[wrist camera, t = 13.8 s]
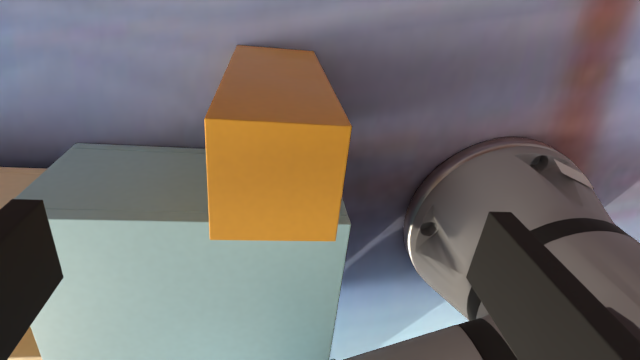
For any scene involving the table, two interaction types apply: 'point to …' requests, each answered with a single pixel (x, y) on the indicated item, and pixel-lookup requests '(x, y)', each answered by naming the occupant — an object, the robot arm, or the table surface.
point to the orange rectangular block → (275, 149)
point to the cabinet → (173, 267)
